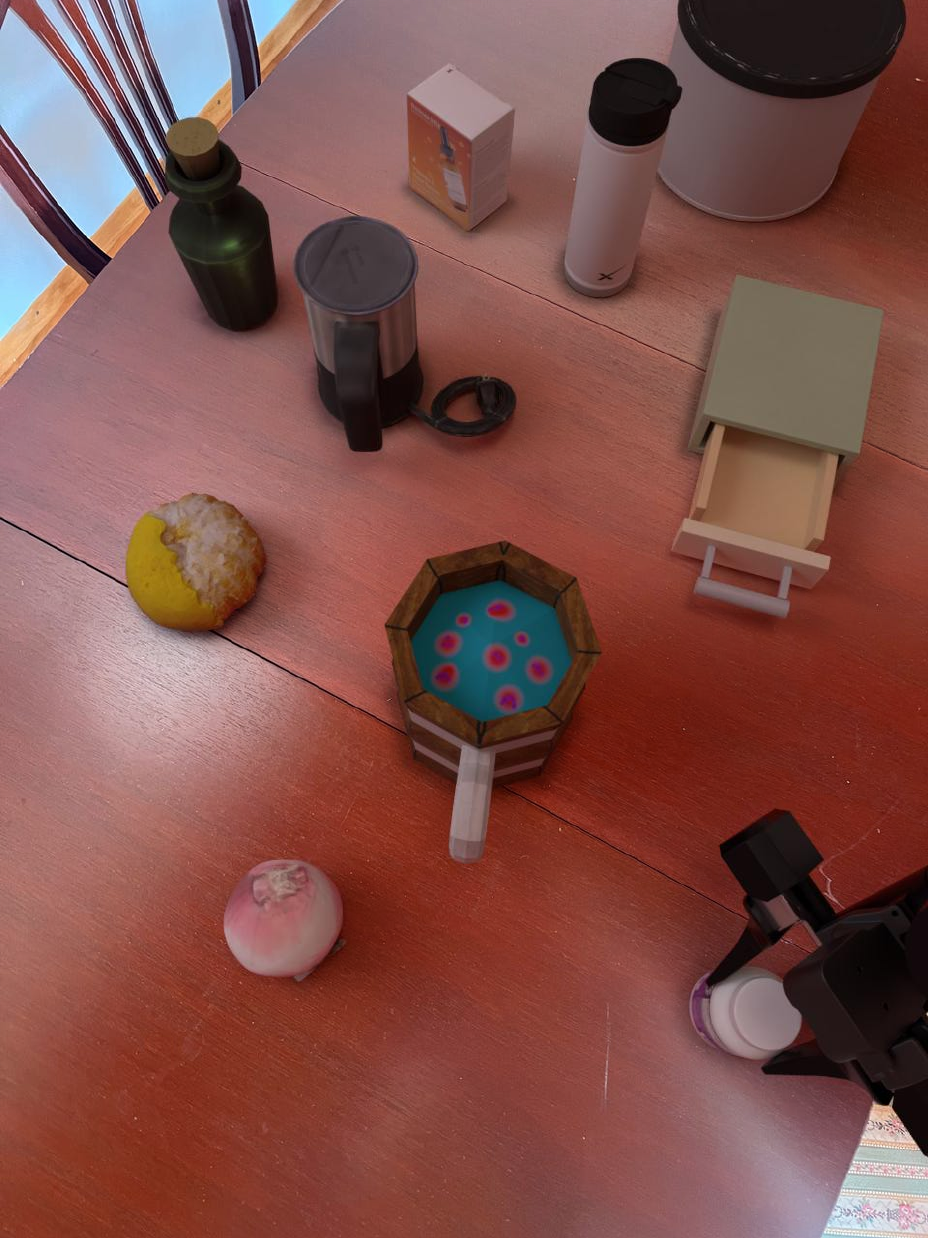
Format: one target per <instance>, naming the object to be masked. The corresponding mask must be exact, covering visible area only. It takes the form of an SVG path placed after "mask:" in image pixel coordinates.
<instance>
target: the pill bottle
mask: <svg viewBox="0 0 928 1238" xmlns="http://www.w3.org/2000/svg"><path fill="white" fill-rule="evenodd" d="M714 970H715V969H712V970H710V971H708V972H706V973H705V974H704V975H702V976H701V977H700V978H699V979H697V982H696V983H695V984H694V986H693V988H692V991H691V994H690V998H689V1015H690V1020H691V1022H692V1025H693V1027H694V1030H696V1032H697V1034H698V1035H699V1036H700V1038H701V1039H702V1040H703V1041H704V1042H705V1043H707V1044H708V1045H709V1046H710V1047H712V1048H714V1049H716V1050H718V1051H721V1052H724V1053H727V1054H730V1055H733V1056H737V1057H741V1058H744V1059H748V1060H753V1061H758V1060H759V1061H762V1060H763V1061H764V1060H769V1059H771V1058H773V1057H775V1056H777V1055H779V1054H781V1053H782V1052H784V1051H785V1050H787V1049H789V1048H790V1046H791V1045H792V1043H794V1041H795V1040H796V1039H797V1038H798V1035H799V1034H800V1031H801V1028H802V1025H803V1024H802V1023H803V1017H802V1015H801V1014H800V1012H799V1011H798V1010H797V1009H796V1008H794V1007H793V1006H792V1005H791V1004H790V1002H789V1000H788V999H787V997H786V995H785V993H784V989H783V979H782V978H781V977H780V976H778V975H777V974H775V973H774V972H772V971H771V970H768V969H766V968H763V967H759V966H753V965H744V966H743V967H741V968H740V969H739V970H737V971H736V972H735V973H733V974H732V975H731V976H729V977H728V978H727V979H725V980H723V981H722V982H719V983H717V984H715V985H713V986H711V987H708V986H707V984H706V983H705V981H706V980H707V979H708V977H709V976H710V975H711V974H712V972H713V971H714Z"/></svg>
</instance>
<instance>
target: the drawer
mask: <svg viewBox="0 0 928 1238" xmlns="http://www.w3.org/2000/svg"><path fill="white" fill-rule="evenodd" d="M838 457H839V454H837V453H833V452H829V451H825V450H821V449H817V448H814V447H810V446H806V445H802V444H798V443H794V442H790V441H786V440H782V439H778V438H775V437H771V436H767V435H763V434H759V433H755V432H751V431H747V430H743V429H739V428H736V427H732V426H728V425H724V424H720V423H716V422H712V421H711V426H710V430H709V434H708V438H707V442H706V447H705V451H704V455H703V454H702V458H701V459H702V460H701V464H700V468H699V472H698V476H697V481H696V485H695V489H694V492H693V496H692V501H691V504H690V505H691V506H690V510H689V513H688V517H684V518H683V520H682V522H681V524H680V525H679V528H678V530H677V532H676V534H675V537H674V539H673V541H672V546H671V553H675V554H678V555H682V556H687V557H690V558H693V559H697V560H700V561H703V564H702V569H701V572H700V576H698V577H697V579H696V581H695V583H694V584H695V585H694V588H693V595H696V596H699V597H703V598H707V599H710V600H714V601H718V602H721V603H725V604H728V605H732V606H737V607H739V608H744V609H747V610H751V611H754V612H758V613H762V614H765V615H769V616H772V617H776V618H779V619H783V620H784V619H786V617H788V613H789V611H790V607H791V601H790V600H788V595H789V589H790V585H793V586H796V587H801V588H803V589H807V590H808V589H809V590H813V588H814V587H815V586H816V584H818V582H819V581H820V580H821V579H822V578H823V577H824V576H825V575H826V574H827V572H828V571H830V566H831V561H832V560H831V559H832V557H831V556H830V555H826V554H822V553H820V552H819V553H818V552H815V551H816V550H817V549H818V548H819V547H820V545H821V544H822V543H823V542H824V540H825V535H826V530H827V524H828V519H829V513H830V508H831V501H832V496H833V490H834V488H833V486H834V480H835V474H836V469H837V463H838ZM713 564H716V565H720V566H723V567H727V568H731V569H734V570H738V571H742V572H745V573H749V574H753V575H757V576H760V577H763V578H767V579H771V580H775V581H779V587H778V593H777V596H772V595H769V594H765V593H762V592H758V591H754V590H750V589H747V588H744V587H739V586H736V585H732V584H728V583H725V582H721V581H718V580H713V579H710V576H711V572H712V567H713Z"/></svg>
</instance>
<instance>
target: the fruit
mask: <svg viewBox="0 0 928 1238" xmlns="http://www.w3.org/2000/svg"><path fill="white" fill-rule="evenodd" d="M249 522H250V521H249V519H247V518H246V517H245V516H244V514H243V513H242V512H240V511H239V509H237V508H236V506H235V505H234V504H232V503H230V502H229V501H225V500H219V499H218V498H217V497H216V496H214V495H210V494H207V493H195V492H191V493H188V494H185V495H183V496H181V497H180V498H179V499H178V500H177V501H175V500H174V501H171V502H166V503H162V504H161V505H160V506H159V507H157V509H155V510H149V511H147V512H146V513H144V515H143V516H141V517H140V518H139V520H138V521H137V522H136V523H135V525H134V526H133V530H132V533H131V536H130V539H129V542H128V545H127V550H126V554H125V555H126V556H125V578H126V579H125V580H126V584H127V587H128V591H129V594H130V597H131V599H133V601H134V602H135V603H136V605H137V606H138V608H139V609H140V610H141V611H142V612H143V614H144V615H145V616H146V617H147V618H148V619H149V620H151V622H153V623H155V624H157V625H159V626H161V627H163V628H166V629H168V630H174V631H175V630H176V631H182V632H187V633H188V632H189V633H193V632H195V633H196V632H197V633H201V632H207V631H212V630H216V629H218V628H221V627H223V626H224V621H225V620H227V619H228V618H229V617H230V616H231V615H232V613H233V612H234V611H235V610H237V609H240V608H241V607H243V606H244V604H247V603H249V601H250V600H251V599H252V598H253V596H254V595H255V594H256V593H258V591H257V582H258V577H259V576H260V575H261V573H262V572H263V571H264V569H265V566H266V562H267V557H268V555H267V554H266V552H265V549H264V544H263V541H262V539H261V537H260V535H259V533H258V532H257V530H255V529H254V528H253V527H252V526H251V525H250V523H249Z"/></svg>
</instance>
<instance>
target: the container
mask: <svg viewBox="0 0 928 1238" xmlns="http://www.w3.org/2000/svg"><path fill="white" fill-rule="evenodd" d="M906 27H907V10H906V5H905V2H904V0H678V2H677V23H676V28H675V32H674V36H673V41H672V45H671V49H670V52H669V57H668V62H667V65H666V66H667V67H668V68H669V69H671V71H672V72H673V73H674V74H675V77H676V79H677V84H678V86H681V87H682V94H681V99H680V101H679V102H678V104H677V105H676V107H675V108H674V109H672V112H671V115H670V122H669V127H668V131H667V135H666V139H665V143H664V147H663V151H662V155H661V159H660V163H659V167H658V170H657V174H658V175H659V177H660V178H661V180H662V181H663V183H665V185H666V186H667V187H668V188H669V189H670V190H671V191H672V192H673V193H674V194H676V195H677V196H678V197H679V198H681V199H682V200H683V201H685V202H686V203H688V204H689V205H691V206H693V207H695V208H696V209H698V210H701V211H703V212H705V213H708V214H710V215H712V216H716V217H720V218H723V219H728V220H732V221H739V222H753V223H754V222H757V223H758V222H770V221H776V220H782V219H785V218H788V217H791V216H792V217H793V216H794V215H797V214H799V213H801V212H803V211H805V210H807V209H808V208H810V207H812V206H813V205H815V204H816V203H817V202H818V201H820V199H822V198H823V196H824V195H825V194H826V193H827V192H828V190H829V189H830V187H831V186H832V184H833V182H834V180H835V177H836V175H837V173H838V169H839V164H840V162H841V161H842V158H843V157H844V154H845V152H846V150H847V147H848V145H849V143H850V141H851V140H852V137H853V134H854V132H855V130H856V128H857V127H858V124H859V122H860V121H861V118H862V115H863V113H864V111H865V110H866V107H867V106H868V105H867V104H868V103H869V100H870V98H871V97H872V94H873V92H874V90H875V87H876V85H877V83H878V82H879V79H880V77H881V75H882V73H883V72H884V71H885V70H886V69H887V67H889V65H890V63H891V62H892V60H893V59H894V57H895V55H896V53H897V51H898V49H899V47H900V44H901V43H902V40H903V38H904V35H905V30H906Z"/></svg>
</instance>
